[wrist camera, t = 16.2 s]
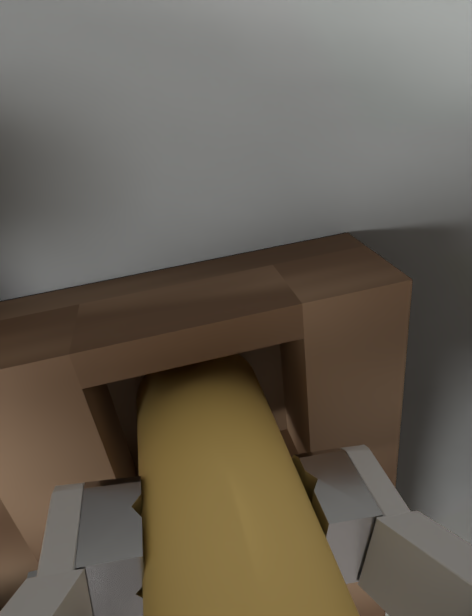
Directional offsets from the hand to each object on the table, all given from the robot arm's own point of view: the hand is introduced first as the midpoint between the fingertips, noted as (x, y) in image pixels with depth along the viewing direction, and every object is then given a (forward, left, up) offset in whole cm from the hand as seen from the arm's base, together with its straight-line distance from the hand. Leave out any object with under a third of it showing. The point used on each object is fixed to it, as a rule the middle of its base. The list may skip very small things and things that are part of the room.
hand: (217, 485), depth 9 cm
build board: (-3, 0, -4) cm, 5 cm away
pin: (0, 0, -3) cm, 3 cm away
